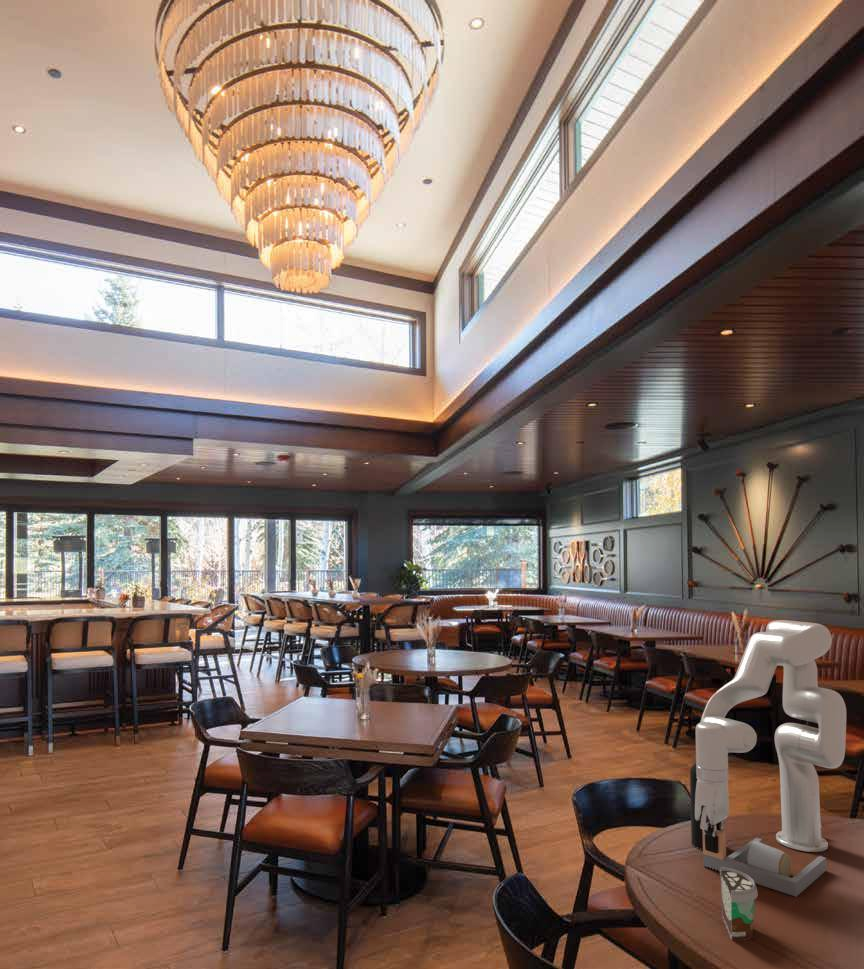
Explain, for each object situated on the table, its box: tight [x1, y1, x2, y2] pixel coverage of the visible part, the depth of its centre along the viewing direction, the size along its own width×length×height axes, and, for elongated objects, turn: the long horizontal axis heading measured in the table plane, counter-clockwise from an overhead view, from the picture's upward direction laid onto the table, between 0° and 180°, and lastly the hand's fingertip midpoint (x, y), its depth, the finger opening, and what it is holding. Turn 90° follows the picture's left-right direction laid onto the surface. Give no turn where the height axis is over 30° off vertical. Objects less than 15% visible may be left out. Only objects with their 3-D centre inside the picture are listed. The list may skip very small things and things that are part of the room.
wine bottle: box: [689, 762, 711, 849], centre depth 193 cm, size 8×8×30 cm
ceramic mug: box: [746, 841, 792, 878], centre depth 173 cm, size 11×8×8 cm
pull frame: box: [702, 829, 827, 898], centre depth 178 cm, size 20×22×9 cm
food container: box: [719, 867, 759, 941], centre depth 148 cm, size 12×6×10 cm, turn 168°
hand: (714, 849), depth 178 cm, fingers closed on pull frame, 2 cm apart
